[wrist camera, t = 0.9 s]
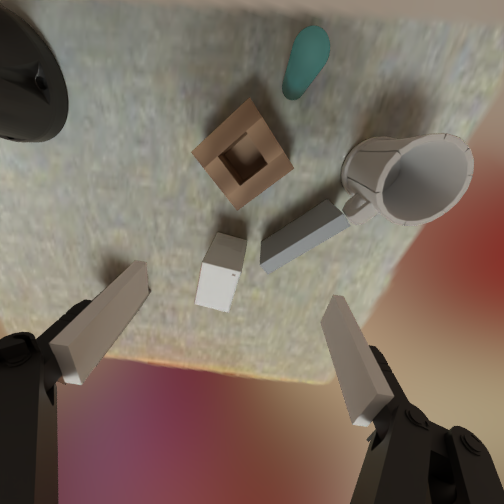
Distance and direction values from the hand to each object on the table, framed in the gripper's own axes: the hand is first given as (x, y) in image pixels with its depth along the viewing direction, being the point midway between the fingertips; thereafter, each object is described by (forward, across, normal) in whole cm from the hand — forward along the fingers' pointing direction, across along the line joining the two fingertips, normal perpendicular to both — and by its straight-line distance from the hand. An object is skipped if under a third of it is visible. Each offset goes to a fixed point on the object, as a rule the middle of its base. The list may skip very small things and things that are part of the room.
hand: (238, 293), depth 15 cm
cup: (+23, +16, +8) cm, 29 cm away
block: (+23, -2, +7) cm, 24 cm away
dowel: (+23, +2, +16) cm, 28 cm away
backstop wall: (+22, +8, -2) cm, 24 cm away
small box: (+23, -3, -10) cm, 25 cm away
